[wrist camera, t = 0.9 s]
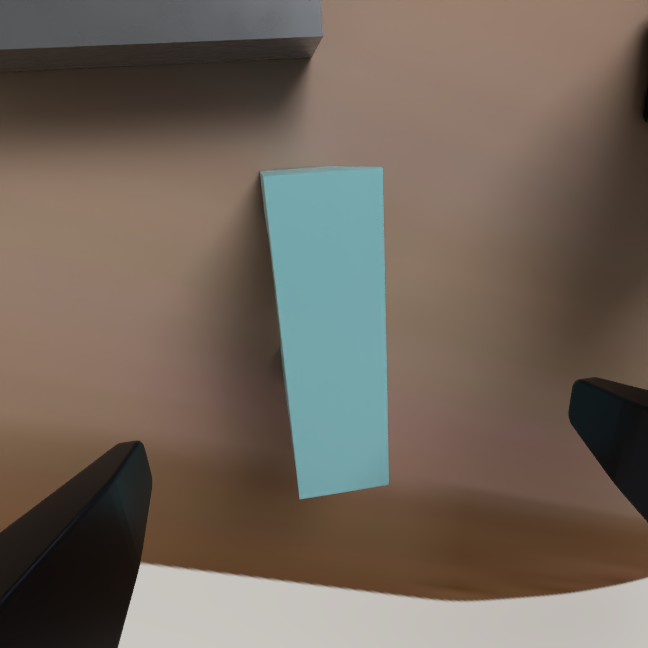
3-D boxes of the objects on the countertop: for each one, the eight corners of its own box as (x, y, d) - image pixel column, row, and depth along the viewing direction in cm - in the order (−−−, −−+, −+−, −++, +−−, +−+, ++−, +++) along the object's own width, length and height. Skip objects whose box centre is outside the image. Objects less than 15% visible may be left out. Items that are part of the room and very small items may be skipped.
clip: (330, 165, 18) (382, 166, 11) (343, 375, 22) (388, 484, 14) (259, 171, 18) (263, 176, 10) (284, 383, 21) (299, 499, 14)
